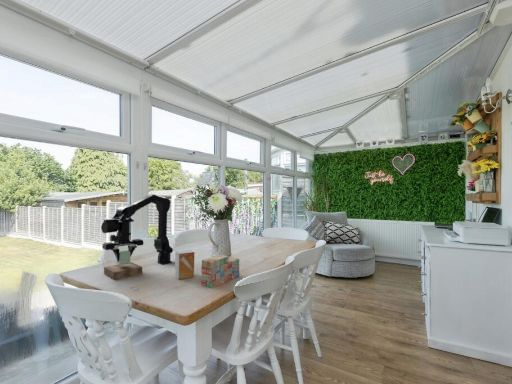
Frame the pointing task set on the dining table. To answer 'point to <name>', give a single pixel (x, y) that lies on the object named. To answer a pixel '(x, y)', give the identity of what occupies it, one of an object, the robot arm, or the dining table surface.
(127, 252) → the green cube
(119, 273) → the walnut base
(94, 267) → the dining table surface
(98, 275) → the dining table surface
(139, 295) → the dining table surface
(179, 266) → the small box
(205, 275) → the stack of blocks
